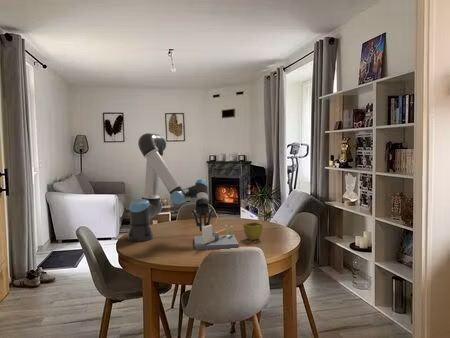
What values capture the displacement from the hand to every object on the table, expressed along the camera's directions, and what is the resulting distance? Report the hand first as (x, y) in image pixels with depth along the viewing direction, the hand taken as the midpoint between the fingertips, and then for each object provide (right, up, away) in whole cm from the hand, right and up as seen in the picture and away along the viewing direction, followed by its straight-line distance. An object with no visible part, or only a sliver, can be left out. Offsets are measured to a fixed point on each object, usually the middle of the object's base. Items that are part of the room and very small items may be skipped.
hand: (203, 235), depth 200 cm
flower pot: (+29, -5, +15) cm, 33 cm away
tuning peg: (+7, -3, +6) cm, 9 cm away
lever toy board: (+7, -5, +6) cm, 11 cm away
